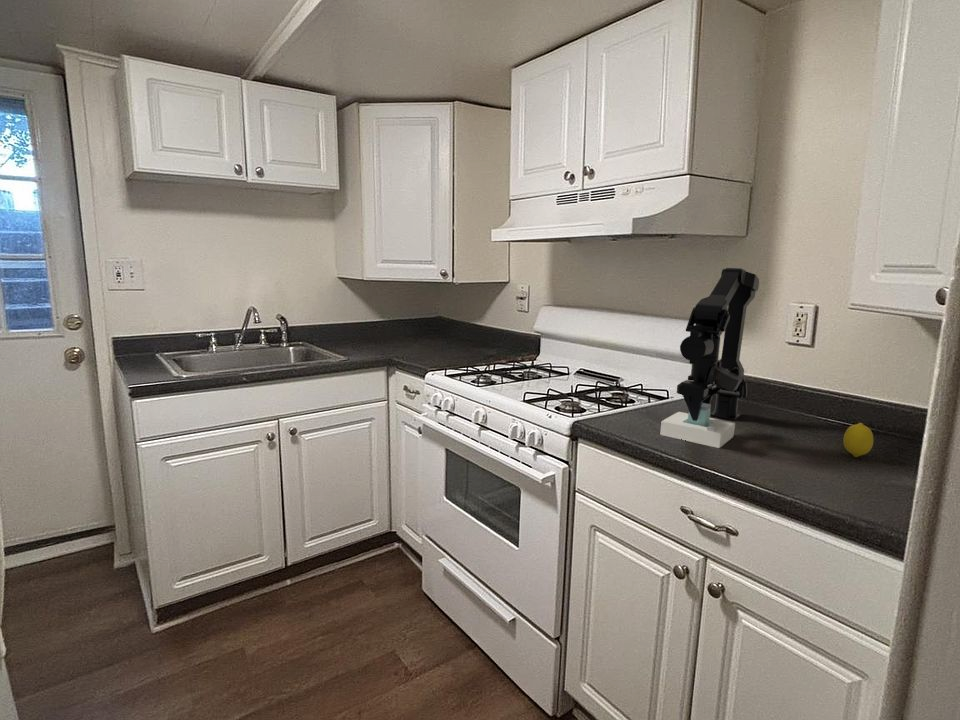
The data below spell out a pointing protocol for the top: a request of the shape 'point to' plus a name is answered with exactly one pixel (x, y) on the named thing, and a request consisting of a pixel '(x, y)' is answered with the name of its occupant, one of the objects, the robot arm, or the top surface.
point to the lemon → (858, 439)
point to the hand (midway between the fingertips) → (698, 418)
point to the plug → (702, 416)
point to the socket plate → (698, 430)
